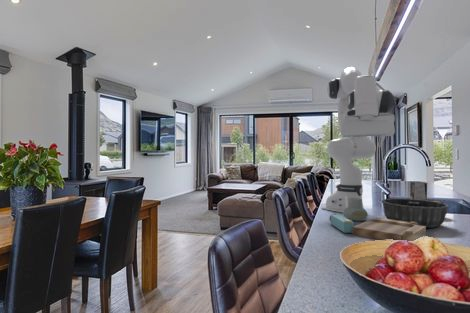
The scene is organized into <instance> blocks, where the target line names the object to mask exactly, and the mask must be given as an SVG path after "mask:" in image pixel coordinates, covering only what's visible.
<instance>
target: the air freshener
mask: <svg viewBox="0 0 470 313" xmlns="http://www.w3.org/2000/svg"><path fill="white" fill-rule="evenodd" d="M362 202H363V198H362V199H359V198H349V207H348V208H346V209H344V211H343V213H342V216H343V217H345V218H347V219H349V220H352V222H361V221H363V220H365V219H367V217H368V211H367V210H366V209H365V208H364V209H363V208H362Z"/></svg>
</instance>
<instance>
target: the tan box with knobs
mask: <svg viewBox="0 0 470 313" xmlns="http://www.w3.org/2000/svg"><path fill="white" fill-rule="evenodd" d="M426 231H427V227H426V226H420V225H418V223H417V222H406V221H399V220H391V219H387V218H383V217H374V218H372V220H367V221H364V222H362V223H359V224H357V225H354V227H353V231H352V232H351V233H352V234H351V235H353V236H359V237H365V238H370V239H374V240H375V239H376V240H380V239H393V240H407V241H414V240H416V239H418V238H420V237H423V236H427V232H426Z"/></svg>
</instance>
